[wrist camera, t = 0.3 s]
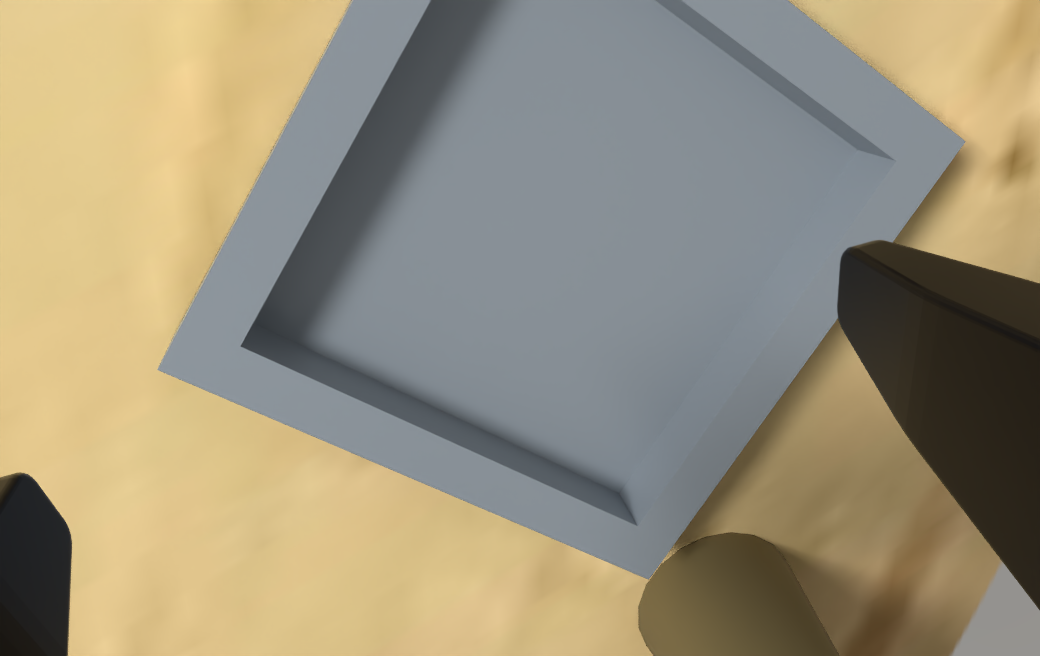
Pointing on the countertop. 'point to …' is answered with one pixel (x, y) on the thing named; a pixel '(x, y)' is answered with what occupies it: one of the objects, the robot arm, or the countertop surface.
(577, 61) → the tray
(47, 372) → the countertop surface
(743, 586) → the cork
